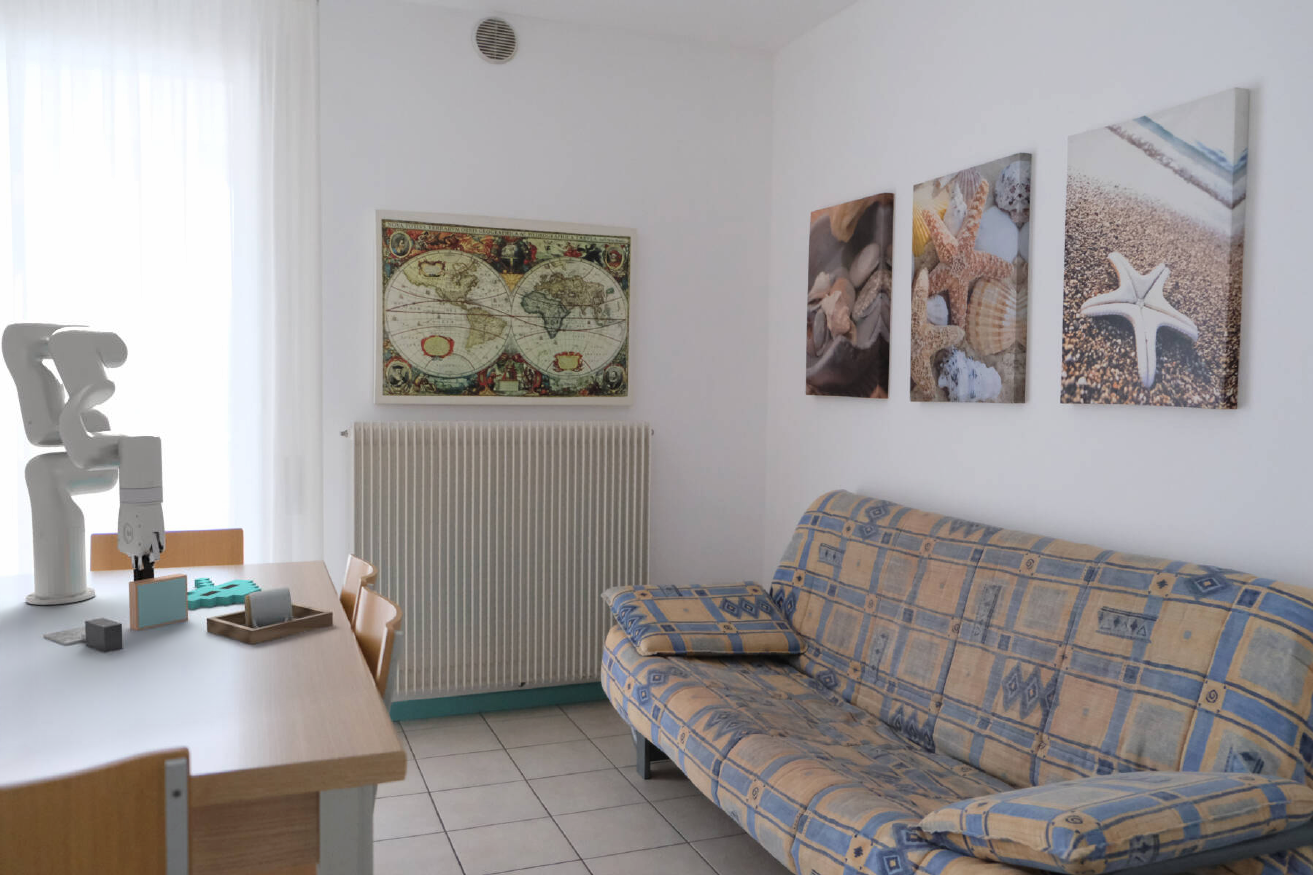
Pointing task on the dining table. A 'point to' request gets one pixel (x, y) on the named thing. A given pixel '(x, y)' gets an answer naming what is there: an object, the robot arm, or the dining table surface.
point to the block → (158, 601)
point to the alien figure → (219, 593)
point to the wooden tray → (233, 624)
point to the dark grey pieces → (92, 635)
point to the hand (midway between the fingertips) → (144, 588)
